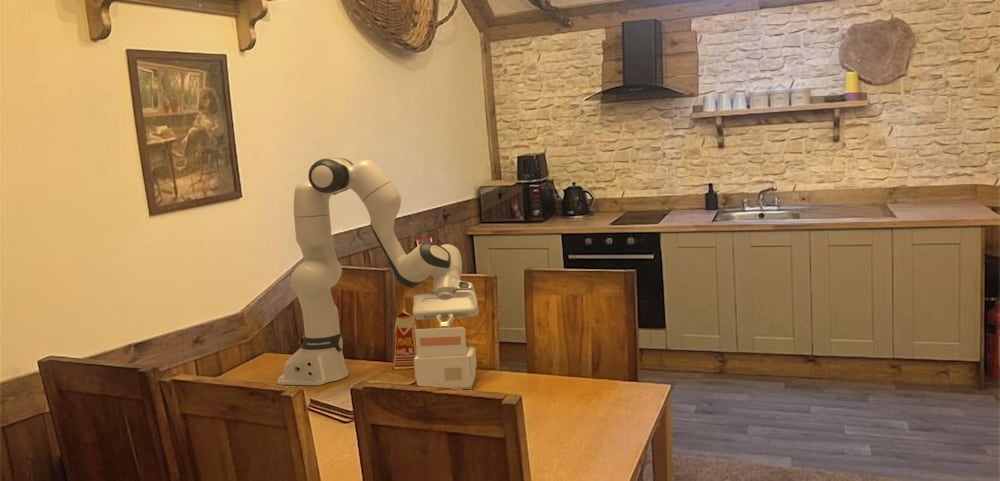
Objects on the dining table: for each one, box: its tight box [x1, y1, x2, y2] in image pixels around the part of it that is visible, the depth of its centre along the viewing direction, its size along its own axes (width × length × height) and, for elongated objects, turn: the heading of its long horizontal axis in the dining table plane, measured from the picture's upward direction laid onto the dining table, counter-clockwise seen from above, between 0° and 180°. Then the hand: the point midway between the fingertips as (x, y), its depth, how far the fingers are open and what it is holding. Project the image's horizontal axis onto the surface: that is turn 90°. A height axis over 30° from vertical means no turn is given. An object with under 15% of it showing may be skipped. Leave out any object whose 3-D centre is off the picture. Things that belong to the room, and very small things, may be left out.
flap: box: [415, 326, 467, 357], centre depth 213 cm, size 15×8×1 cm
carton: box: [413, 345, 478, 391], centre depth 220 cm, size 17×13×10 cm
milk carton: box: [392, 308, 418, 368], centre depth 244 cm, size 9×9×20 cm
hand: (444, 328), depth 220 cm, fingers closed
